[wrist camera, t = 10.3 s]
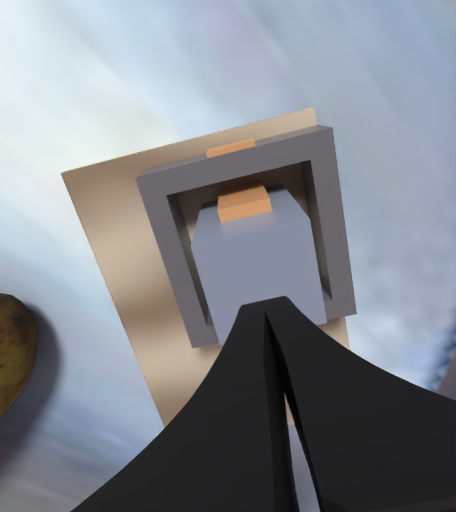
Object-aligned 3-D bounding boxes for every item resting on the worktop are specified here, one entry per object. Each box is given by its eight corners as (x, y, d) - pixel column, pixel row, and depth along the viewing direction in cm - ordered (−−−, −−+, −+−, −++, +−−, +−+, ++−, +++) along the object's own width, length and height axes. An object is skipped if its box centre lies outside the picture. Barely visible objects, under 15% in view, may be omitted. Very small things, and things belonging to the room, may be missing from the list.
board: (355, 405, 23) (358, 412, 23) (174, 439, 24) (173, 447, 24) (311, 107, 17) (314, 107, 16) (65, 171, 18) (60, 173, 17)
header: (340, 289, 19) (356, 313, 17) (196, 321, 20) (192, 348, 18) (316, 120, 16) (331, 121, 14) (145, 164, 17) (133, 172, 15)
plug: (296, 260, 19) (326, 322, 13) (221, 276, 19) (219, 345, 14) (280, 174, 17) (307, 204, 12) (198, 194, 17) (186, 233, 12)
